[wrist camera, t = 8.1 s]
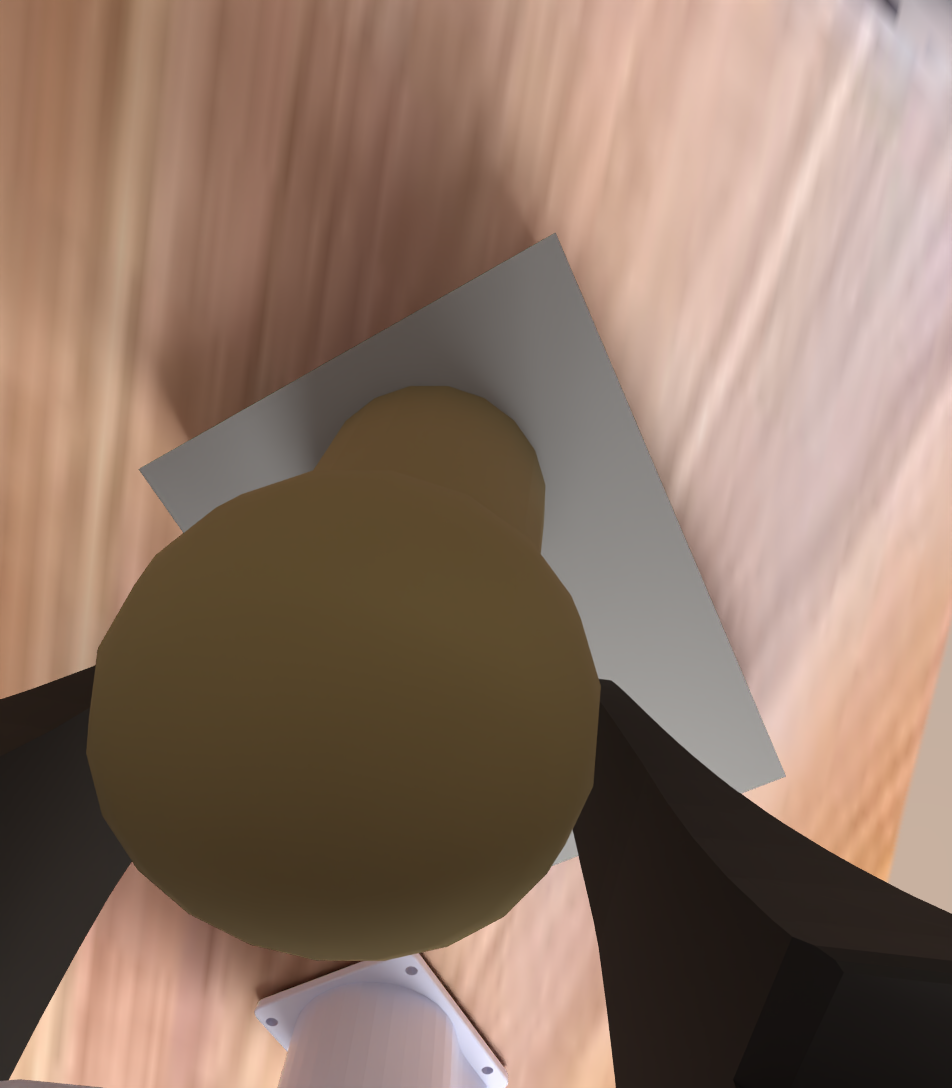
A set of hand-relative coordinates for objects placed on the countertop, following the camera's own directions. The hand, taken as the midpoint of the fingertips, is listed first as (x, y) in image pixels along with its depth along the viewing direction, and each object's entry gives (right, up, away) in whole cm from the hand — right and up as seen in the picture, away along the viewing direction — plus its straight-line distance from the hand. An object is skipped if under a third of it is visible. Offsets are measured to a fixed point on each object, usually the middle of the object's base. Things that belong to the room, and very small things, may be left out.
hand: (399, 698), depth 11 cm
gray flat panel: (+2, +1, +8) cm, 8 cm away
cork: (0, +4, +4) cm, 6 cm away
